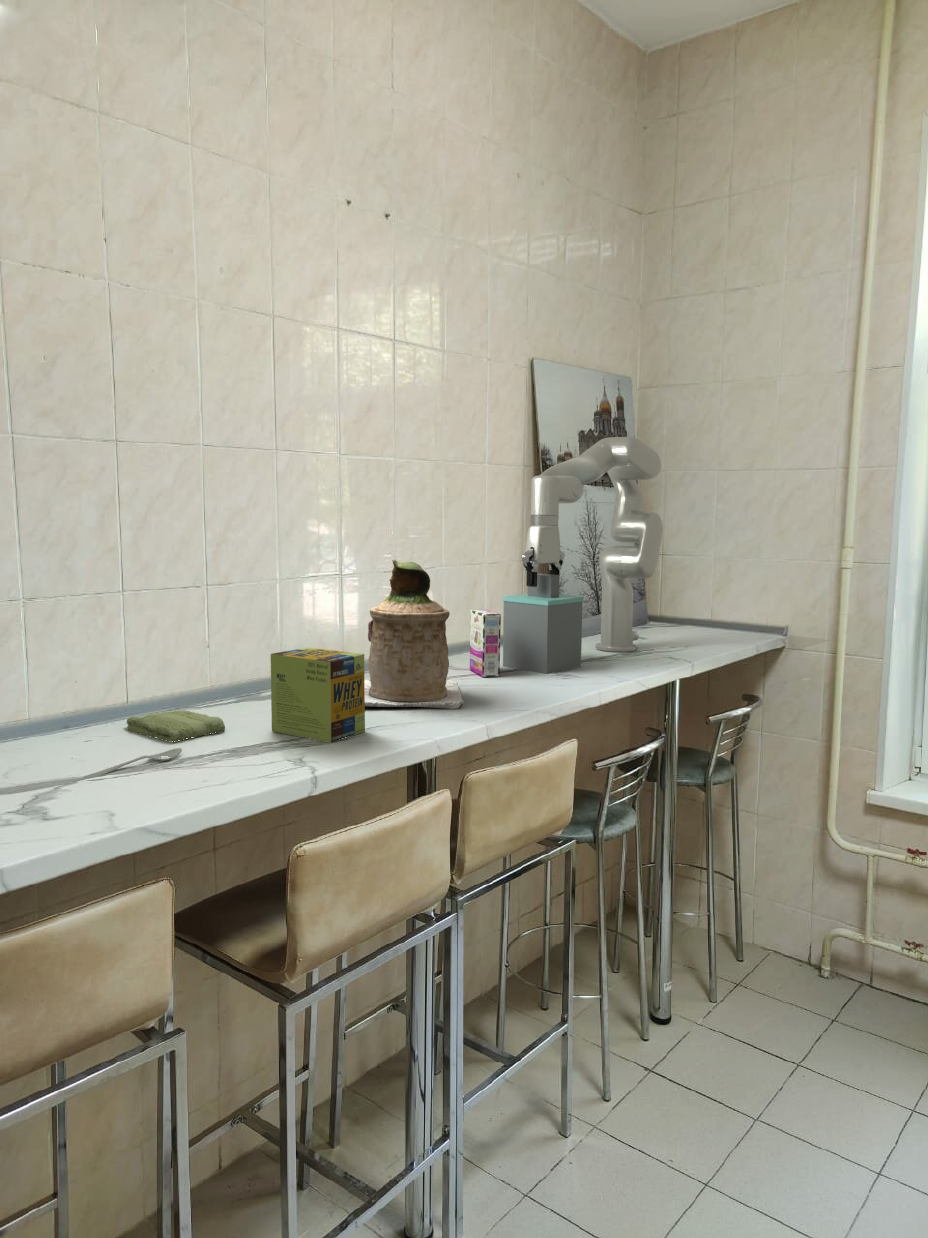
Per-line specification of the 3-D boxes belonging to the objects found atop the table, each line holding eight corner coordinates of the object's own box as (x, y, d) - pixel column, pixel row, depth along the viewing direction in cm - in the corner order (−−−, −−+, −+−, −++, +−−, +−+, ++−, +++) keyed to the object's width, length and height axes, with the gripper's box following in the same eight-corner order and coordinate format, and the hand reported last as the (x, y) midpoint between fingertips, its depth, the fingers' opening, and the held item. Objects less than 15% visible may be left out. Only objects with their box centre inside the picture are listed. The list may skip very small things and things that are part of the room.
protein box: (331, 743, 165) (330, 661, 163) (270, 732, 173) (268, 653, 171) (366, 731, 174) (366, 653, 172) (307, 721, 182) (305, 646, 180)
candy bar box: (501, 677, 229) (501, 613, 227) (482, 678, 228) (483, 614, 225) (486, 669, 240) (487, 608, 237) (468, 670, 238) (469, 609, 236)
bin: (537, 659, 255) (538, 596, 253) (580, 666, 245) (582, 601, 242) (502, 666, 244) (503, 600, 242) (546, 673, 234) (547, 605, 232)
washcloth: (180, 718, 185) (180, 703, 185) (230, 733, 174) (229, 717, 173) (121, 730, 175) (120, 714, 175) (169, 747, 164) (168, 730, 163)
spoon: (188, 758, 156) (187, 749, 156) (73, 787, 141) (72, 776, 140) (175, 754, 159) (174, 745, 159) (60, 781, 143) (60, 771, 143)
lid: (538, 596, 253) (539, 571, 252) (583, 601, 242) (584, 574, 242) (502, 600, 242) (502, 574, 241) (548, 605, 231) (548, 577, 230)
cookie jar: (465, 710, 193) (466, 562, 189) (351, 711, 191) (349, 562, 187) (458, 686, 217) (458, 555, 213) (356, 687, 216) (355, 555, 212)
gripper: (553, 521, 248) (551, 582, 250) (512, 521, 236) (511, 586, 238) (575, 522, 243) (573, 584, 245) (535, 522, 231) (533, 588, 233)
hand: (543, 585), depth 241 cm, fingers open, 9 cm apart
